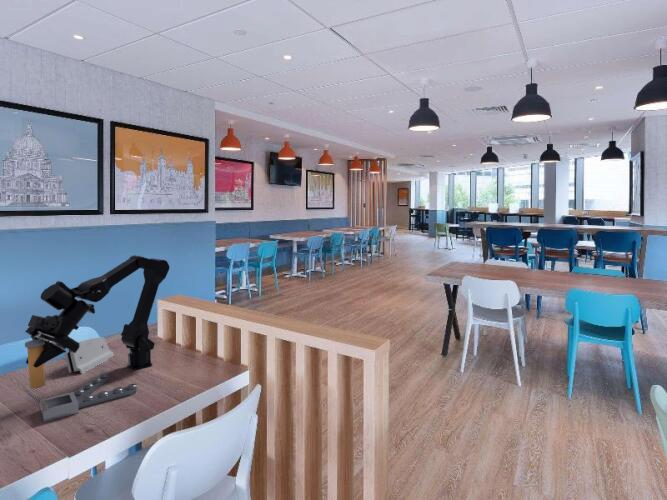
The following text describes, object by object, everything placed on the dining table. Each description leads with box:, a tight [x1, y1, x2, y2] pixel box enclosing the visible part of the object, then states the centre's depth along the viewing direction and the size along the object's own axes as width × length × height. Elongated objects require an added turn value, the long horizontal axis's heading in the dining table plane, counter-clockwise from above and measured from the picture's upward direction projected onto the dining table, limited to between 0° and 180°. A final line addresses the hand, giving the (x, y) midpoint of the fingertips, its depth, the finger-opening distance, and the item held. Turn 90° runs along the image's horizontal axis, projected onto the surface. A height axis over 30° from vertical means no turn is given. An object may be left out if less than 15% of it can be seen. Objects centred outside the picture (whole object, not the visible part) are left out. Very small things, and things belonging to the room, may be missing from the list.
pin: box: [24, 339, 46, 389], centre depth 117 cm, size 5×5×13 cm
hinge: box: [64, 336, 115, 375], centre depth 147 cm, size 17×5×10 cm, turn 170°
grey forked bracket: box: [39, 371, 138, 423], centre depth 125 cm, size 24×19×3 cm
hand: (30, 365), depth 116 cm, fingers closed on pin, 4 cm apart
